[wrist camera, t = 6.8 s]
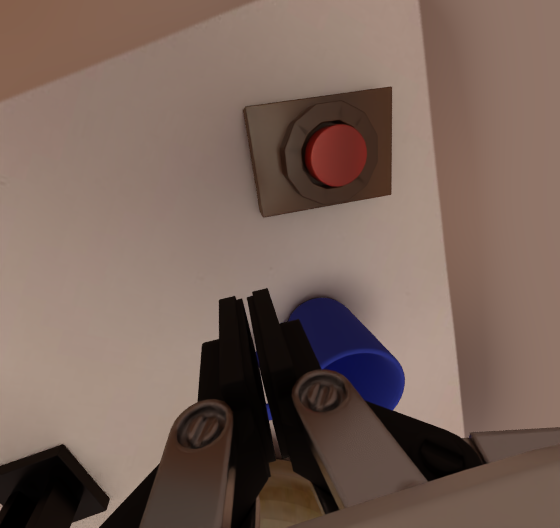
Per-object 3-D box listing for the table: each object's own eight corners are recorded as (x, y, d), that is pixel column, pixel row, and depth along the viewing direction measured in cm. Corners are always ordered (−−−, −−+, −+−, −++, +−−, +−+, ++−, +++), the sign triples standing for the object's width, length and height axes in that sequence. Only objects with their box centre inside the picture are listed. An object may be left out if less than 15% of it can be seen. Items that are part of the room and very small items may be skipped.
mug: (229, 312, 30) (233, 389, 20) (347, 276, 30) (401, 334, 21) (252, 375, 33) (264, 466, 24) (358, 341, 34) (409, 416, 25)
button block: (259, 211, 27) (266, 223, 23) (242, 109, 23) (246, 103, 20) (379, 190, 28) (403, 198, 24) (378, 90, 25) (405, 82, 21)
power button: (307, 187, 23) (313, 191, 21) (301, 129, 21) (307, 128, 20) (358, 179, 23) (368, 181, 22) (356, 121, 22) (366, 119, 20)
